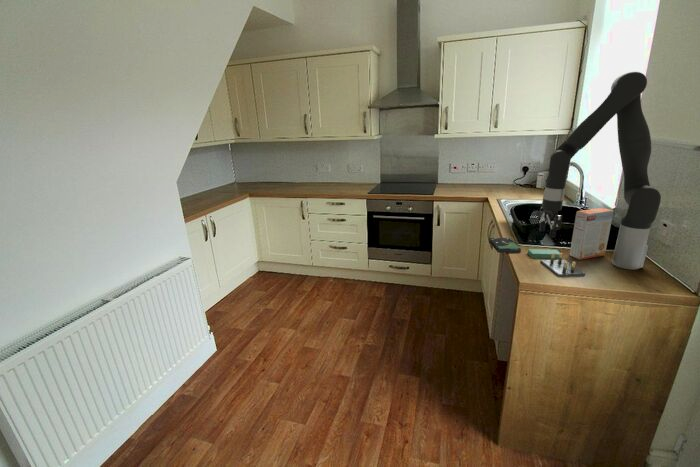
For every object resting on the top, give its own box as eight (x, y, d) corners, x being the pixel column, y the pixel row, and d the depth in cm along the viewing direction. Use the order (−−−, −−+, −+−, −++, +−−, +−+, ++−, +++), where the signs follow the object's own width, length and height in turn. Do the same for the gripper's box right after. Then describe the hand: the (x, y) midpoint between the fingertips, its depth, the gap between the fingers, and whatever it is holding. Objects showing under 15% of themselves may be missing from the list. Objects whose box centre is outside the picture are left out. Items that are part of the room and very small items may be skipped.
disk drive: (487, 243, 172) (498, 253, 158) (488, 237, 171) (498, 248, 157) (508, 242, 171) (521, 253, 157) (509, 237, 170) (521, 247, 156)
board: (555, 254, 154) (556, 249, 153) (560, 259, 149) (561, 254, 148) (527, 254, 156) (528, 249, 155) (531, 258, 151) (532, 253, 150)
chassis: (564, 261, 145) (566, 250, 144) (584, 276, 132) (587, 264, 131) (540, 262, 146) (542, 251, 144) (558, 276, 133) (560, 264, 131)
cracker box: (592, 251, 155) (601, 207, 148) (605, 256, 149) (615, 210, 143) (567, 255, 152) (576, 210, 145) (579, 260, 146) (588, 213, 140)
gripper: (572, 202, 137) (564, 239, 142) (553, 194, 150) (546, 229, 156) (553, 202, 137) (546, 239, 142) (535, 194, 151) (530, 229, 156)
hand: (546, 234), depth 149 cm, fingers open, 8 cm apart
